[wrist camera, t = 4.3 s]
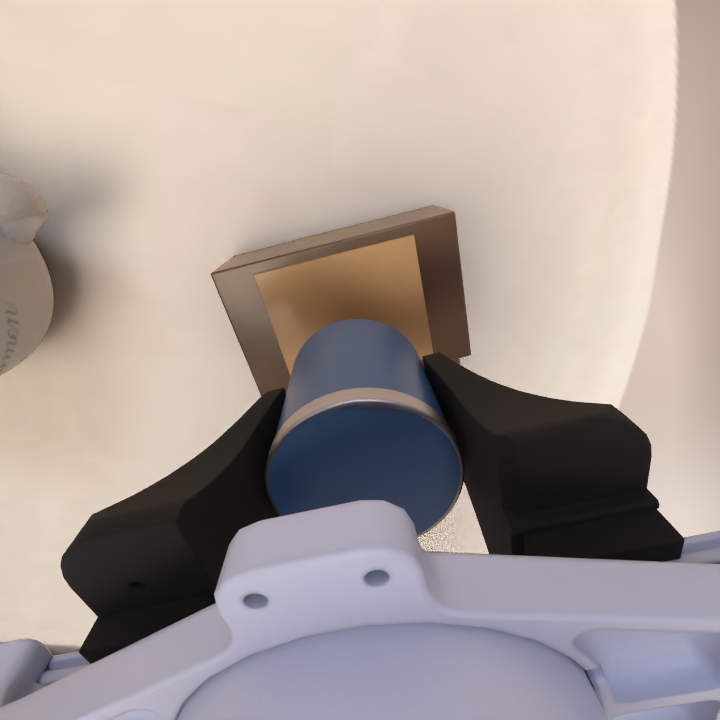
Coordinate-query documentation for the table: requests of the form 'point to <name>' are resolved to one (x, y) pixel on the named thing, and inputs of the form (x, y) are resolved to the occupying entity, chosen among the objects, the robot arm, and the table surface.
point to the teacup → (21, 273)
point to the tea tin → (363, 428)
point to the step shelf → (348, 289)
